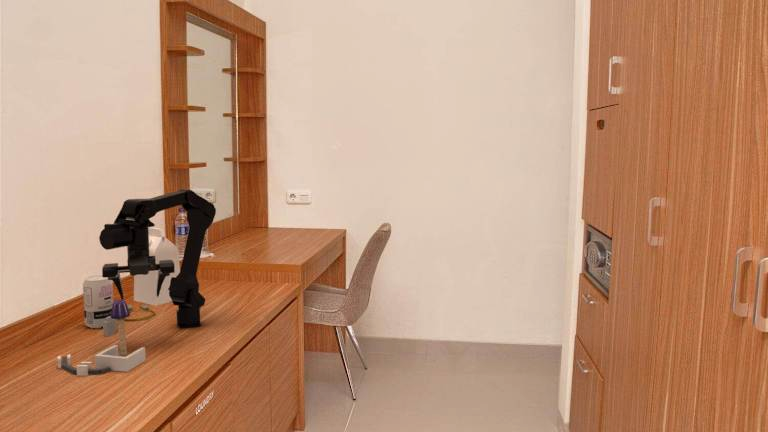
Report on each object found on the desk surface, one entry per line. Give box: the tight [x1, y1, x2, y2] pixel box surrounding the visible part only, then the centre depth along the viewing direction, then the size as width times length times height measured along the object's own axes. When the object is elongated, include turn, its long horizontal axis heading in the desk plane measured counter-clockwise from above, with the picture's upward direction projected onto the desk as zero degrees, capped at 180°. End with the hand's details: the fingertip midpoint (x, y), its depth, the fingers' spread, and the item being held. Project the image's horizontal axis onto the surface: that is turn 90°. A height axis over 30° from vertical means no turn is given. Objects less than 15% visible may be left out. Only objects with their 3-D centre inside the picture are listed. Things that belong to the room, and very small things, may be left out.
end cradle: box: [94, 344, 147, 373], centre depth 155 cm, size 8×9×4 cm
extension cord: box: [124, 303, 157, 322], centre depth 199 cm, size 12×16×2 cm
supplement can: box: [82, 275, 114, 329], centre depth 186 cm, size 8×8×15 cm
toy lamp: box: [111, 299, 131, 357], centre depth 155 cm, size 5×5×17 cm
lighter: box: [102, 316, 117, 337], centre depth 180 cm, size 7×2×8 cm, turn 171°
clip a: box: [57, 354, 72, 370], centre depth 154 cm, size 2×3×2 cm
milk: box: [133, 227, 181, 307], centre depth 215 cm, size 12×12×26 cm
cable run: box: [61, 355, 112, 375], centre depth 152 cm, size 6×17×1 cm, turn 64°
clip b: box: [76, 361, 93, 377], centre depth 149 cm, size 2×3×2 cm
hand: (140, 298), depth 171 cm, fingers open, 9 cm apart
